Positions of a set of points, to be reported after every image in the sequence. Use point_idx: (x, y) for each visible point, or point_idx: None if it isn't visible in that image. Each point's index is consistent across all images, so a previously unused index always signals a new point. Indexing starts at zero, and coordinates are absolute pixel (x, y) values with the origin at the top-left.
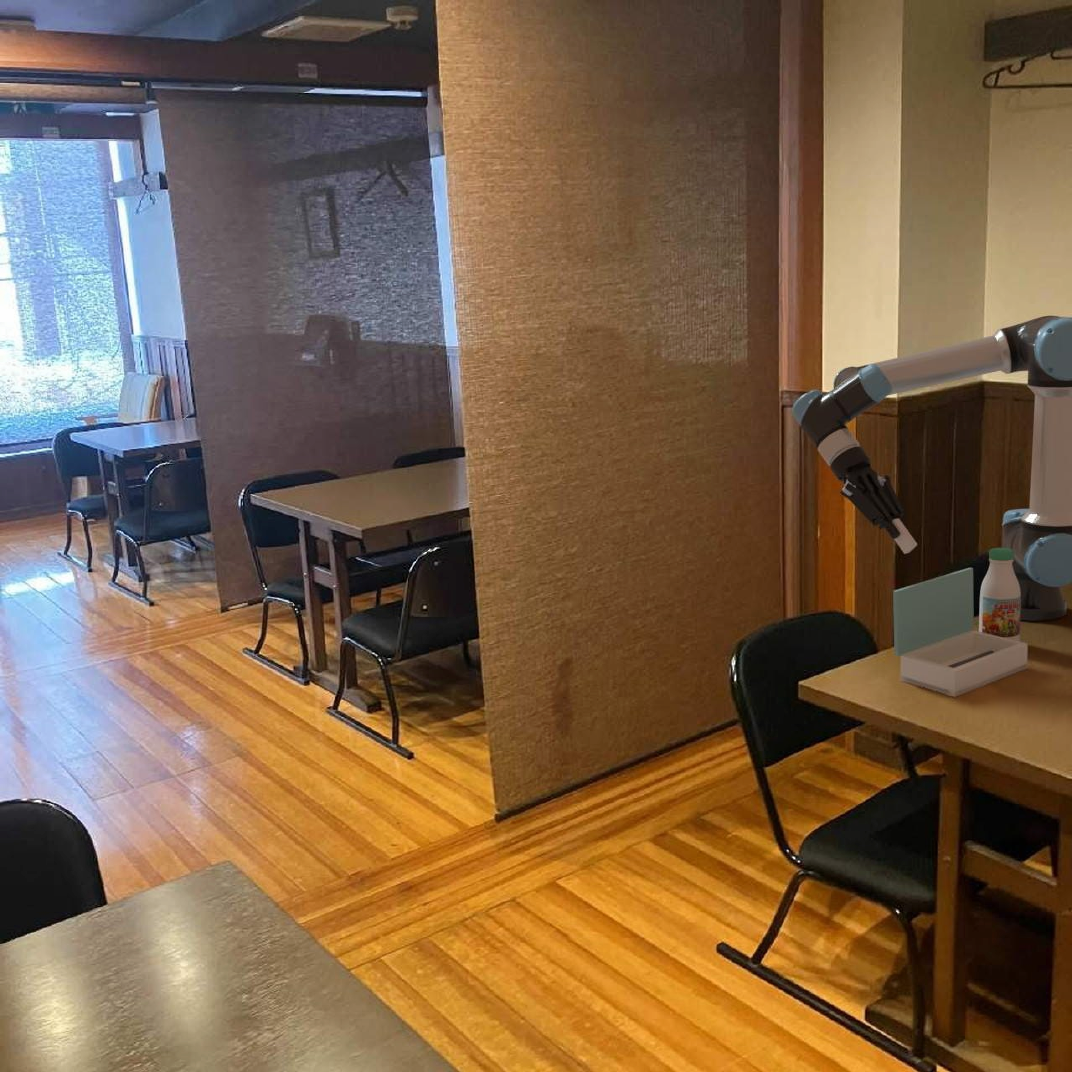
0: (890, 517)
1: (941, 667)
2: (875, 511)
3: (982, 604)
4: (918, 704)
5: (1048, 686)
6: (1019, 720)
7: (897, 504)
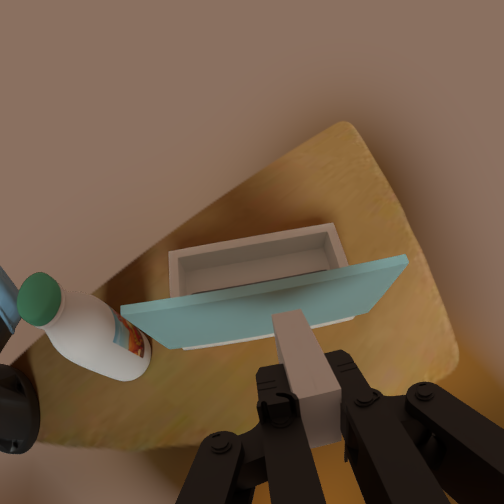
0: (361, 396)
1: (339, 240)
2: (463, 411)
3: (119, 347)
4: (377, 247)
5: (211, 218)
6: (310, 175)
7: (216, 493)
